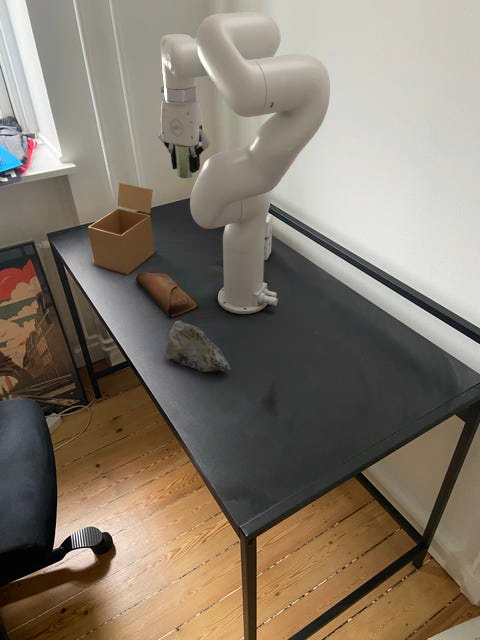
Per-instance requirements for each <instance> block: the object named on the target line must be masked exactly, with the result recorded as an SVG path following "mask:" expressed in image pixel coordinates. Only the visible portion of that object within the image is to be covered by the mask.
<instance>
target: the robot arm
mask: <svg viewBox="0 0 480 640" xmlns="http://www.w3.org/2000/svg"><path fill="white" fill-rule="evenodd" d="M280 44H281V31H280V27H279V25H278V23H277V22H276V20H275V19H274V18H273V17H272V16H271V15H269V14H268V13H265V12H262V11H257V10H247V11H237V12H225V13H215V14H211V15H209V16H207V17H205V18H204V19H203V20H202V21H201V23H200V25H199V27H198V29H197V32H196V37H192V36H191V35H189V34H186V33H171V34H166V35H163V36H162V37H161V39H160V42H159V45H160V48H159V49H160V60H161V68H162V70H161V71H162V79H163V86H161V87H160V92H161V94H163V95H164V98H163V99H162V100H161V108H160V132H159V134H158V139H159V140H160V141H161V142H162V143H163V144H164V146H165V148H166V149H167V150H168V151H167V152H168V153H169V154H170V161H171V165H172V170H177V165H176V153H175V145H174V144H176V145H182V146H189V147H190V151H191V154H192V157H190V165H191V172H192V173H195V172H196V173H197V172H198V171H199V170H200V171H199V174H198V176H197V178H196V181H195V182H194V185H193V187H192V190H191V194H190V198H189V210H190V214H191V217H192V219H193V221H194V222H195V223H196V225H198V226H199V227H201V228H203V229H206V230H213V229H217V228H221V227H224V230H223V234H222V260H223V261H222V264H223V269H222V270H223V287H222V288H221V289H220V290H219V291H218V294H217V301H218V304H219V306H220V307H221V308H222V309H224V310H225V311H227V312H230V313H233V314H239V315H248V314H254V313H258V312H260V311H261V310H263V309H265V308H266V306H268V305H270V306H273V307H276V306H277V305H278V302H279V299H278V292H275V291H270V290H269V289H268V283H266V282H265V281H264V273H265V272H264V271H265V260H264V244H265V226H266V219H267V215H268V214H269V210H270V206H271V200H272V199H271V198H272V195H271V194H272V192H271V191H273V190H274V189H275V188H277V186H278V185H279V183H280V182H281V181H282V179H283V178H284V177H285V175H286V174H287V172H288V171H289V170H290V169H291V168H290V167H292V165H293V164H294V163H295V161H296V159H297V158H298V156H299V155H300V154H301V152H302V151H303V150H304V149H305V148H306V146H308V144H309V143H310V142H311V141H312V139H313V138H314V137H315V135H316V134H317V133H318V131H319V129H320V128H321V127H322V124H323V122H324V120H325V117H326V115H327V112H328V108H329V105H330V98H331V97H330V96H331V82H330V74H329V72H328V69H327V68H326V66H325V64H324V63H323V62H322V61H321V60H320V59H319V58H317V57H315V56H312V55H309V54H301V53H291V54H290V53H289V54H283V55H275V54H276V53H277V52H278V49H279V47H280ZM206 76H208V77H209V78H210V80H211V81H212V83H213V84H214V86H215V87H216V89H217V90H218V92H219V94H220V95H221V97H222V98H223V99H224V101H225V103H226V104H227V106H228V107H229V108H230V110H231V111H232V112H234V113H235V114H236V115H238V116H239V117H243V118H253V117H260V116H264V115H271V114H273V115H271V116H270V117H269V118H268V119H267V120H265V122H263V124H262V125H261V126H260V127H259V129H258V130H257V132H256V133H255V136H254V138H253V139H252V141H251V142H250V143H248V144H246V145H244V146H240V147H237V148H232V149H227V150H223V151H220V152H216V153H214V154H212V155H210V157H208V158H207V159H206V160H205V161H204V163H203V165H202V167H201V158H200V157H201V156H200V155H202V153H203V152H205V150H206V149H208V148H209V147H210V146H211V143H212V142H210V140H209V138H208V137H207V135H206V133H205V125H204V117H203V112H202V111H203V110H202V106H201V103H200V100H199V99H198V93H197V78H198V77H206ZM200 143H201V145H200ZM200 168H201V169H200Z"/></svg>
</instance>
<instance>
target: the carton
mask: <svg viewBox="0 0 480 640" xmlns="http://www.w3.org/2000/svg"><path fill="white" fill-rule="evenodd" d="M87 232H88V236H89V241H90V246H91V251H92V256H93V261H94V265H95V266H97V267H100V268H104V269H108V270H110V271H114V272H117V273H120V274H121V273H122V274H124V275H129V274H130V273H131V272H133V271H134V270H135V269H136V268H138V267H139V266H141V264H143V263H144V262H145V261H146V260H148V259H149V258H150V257H152V256H153V255H155V252H156V251H155V245H154V244H155V243H154V235H153V226H152V218H151V215H150V214H146V213H140V212H136V211H134V210H129V209H125V208H120V207H117V208H116V209H114V210H112V211H110V212H109V213H107V214H106V215H104V216H103V217H101V218H100V219H98V220H97V221H94V223H92V224H90V225H89V226H87Z"/></svg>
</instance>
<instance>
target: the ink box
mask: <svg viewBox="0 0 480 640" xmlns="http://www.w3.org/2000/svg"><path fill="white" fill-rule="evenodd" d="M273 217H274V216H273V214H271V213H268V215H267V219H266V226H265V244H264V261H267V260H268V259H269V257H270V255H271V253H272V241H273V240H272V239H273Z"/></svg>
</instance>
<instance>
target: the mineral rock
mask: <svg viewBox="0 0 480 640" xmlns="http://www.w3.org/2000/svg"><path fill="white" fill-rule="evenodd" d="M165 357H166V360H167V361H168V362H176V363H178V364H180V365H181V366H188V367H190V368H192V369H196V370H198V371H199V372H201V373H207V372H229V371H230V370H231V369H232V368H231V366H230V364H229V362H228V360H227V358H225V355H224V353H223V351H221V349H220V348H219V347H218V345H216V344H215V343H214V342H213V341H211V340H210V339H209V338H208V337H207V336H206V335H205V332H204V331H203V330H202V329H200V328H199V327H198V326H195V325H193V324H190V323H187V322H186V323H185V322H184V321H182V320H176V321H174V323H173V325H172V327H171V329H170V331H169V333H168V336H167V340H166V346H165Z"/></svg>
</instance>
